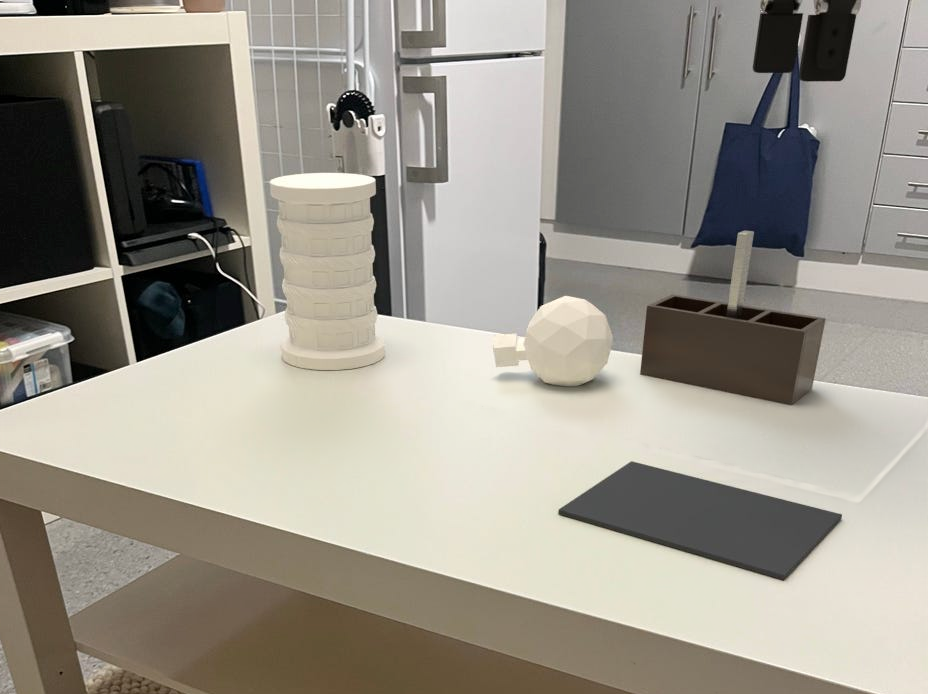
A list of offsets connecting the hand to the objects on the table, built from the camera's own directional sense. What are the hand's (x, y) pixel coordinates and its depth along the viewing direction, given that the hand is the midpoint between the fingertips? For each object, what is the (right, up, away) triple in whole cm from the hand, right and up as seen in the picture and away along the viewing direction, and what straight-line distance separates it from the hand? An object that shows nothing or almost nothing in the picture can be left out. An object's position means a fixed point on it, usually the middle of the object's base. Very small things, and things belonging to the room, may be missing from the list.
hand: (795, 76), depth 76 cm
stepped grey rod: (+2, -16, +28) cm, 32 cm away
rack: (+2, -16, +28) cm, 32 cm away
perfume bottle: (-15, -16, +30) cm, 37 cm away
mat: (-7, -33, +2) cm, 33 cm away
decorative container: (-39, -10, +38) cm, 55 cm away
